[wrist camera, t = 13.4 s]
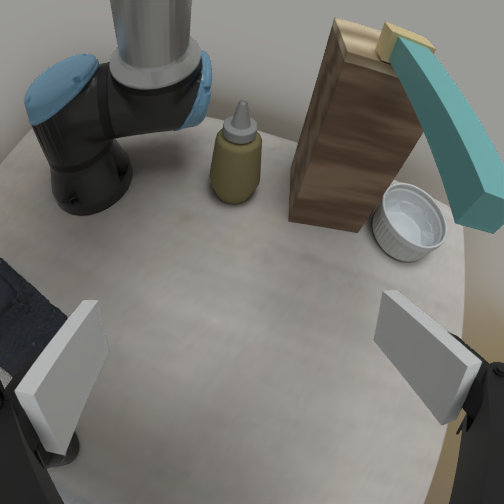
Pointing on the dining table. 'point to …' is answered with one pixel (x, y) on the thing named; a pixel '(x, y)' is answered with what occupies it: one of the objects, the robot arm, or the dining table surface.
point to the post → (351, 133)
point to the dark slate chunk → (23, 320)
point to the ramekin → (408, 222)
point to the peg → (448, 130)
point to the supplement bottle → (58, 459)
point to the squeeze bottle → (236, 157)
